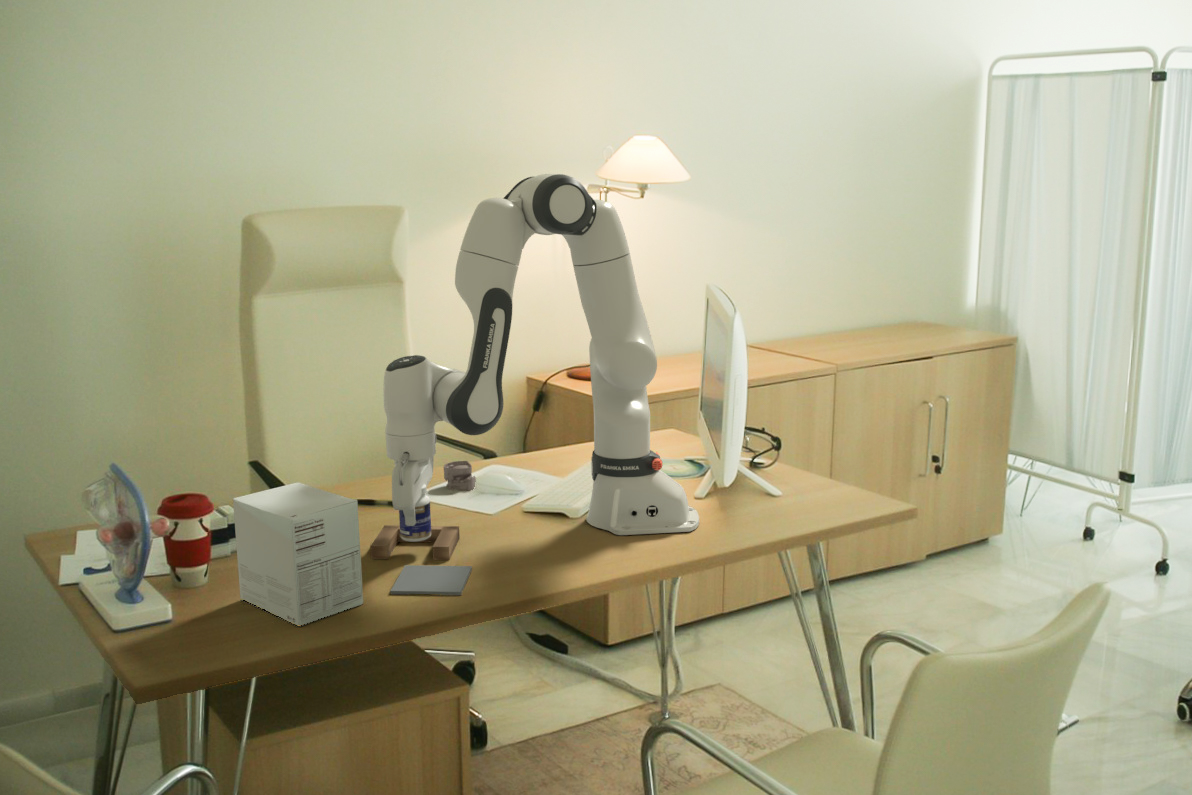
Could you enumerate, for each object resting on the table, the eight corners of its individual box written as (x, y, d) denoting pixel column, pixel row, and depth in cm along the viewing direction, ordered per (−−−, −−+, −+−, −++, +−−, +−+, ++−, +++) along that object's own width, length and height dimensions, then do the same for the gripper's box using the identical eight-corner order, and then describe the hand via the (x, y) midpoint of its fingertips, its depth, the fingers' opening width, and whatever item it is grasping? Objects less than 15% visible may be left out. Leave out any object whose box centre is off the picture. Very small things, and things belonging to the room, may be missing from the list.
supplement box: (366, 604, 196) (361, 499, 192) (298, 629, 186) (291, 519, 182) (305, 578, 207) (299, 479, 203) (237, 601, 198) (229, 497, 194)
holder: (459, 538, 227) (459, 526, 226) (449, 559, 216) (448, 546, 215) (385, 537, 228) (384, 525, 227) (371, 558, 217) (370, 545, 216)
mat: (471, 569, 211) (471, 566, 211) (461, 595, 200) (460, 591, 199) (405, 568, 212) (405, 565, 212) (390, 594, 200) (390, 590, 200)
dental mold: (442, 482, 264) (442, 460, 263) (473, 480, 265) (473, 458, 264) (445, 492, 256) (444, 470, 255) (477, 490, 257) (476, 468, 256)
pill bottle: (415, 544, 215) (413, 492, 213) (393, 538, 218) (390, 487, 216) (438, 535, 219) (435, 484, 217) (416, 529, 223) (413, 479, 221)
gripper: (417, 461, 205) (421, 537, 208) (437, 431, 225) (441, 501, 228) (381, 461, 205) (385, 537, 208) (404, 431, 225) (408, 501, 228)
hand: (414, 518), depth 218 cm, fingers closed on pill bottle, 6 cm apart
